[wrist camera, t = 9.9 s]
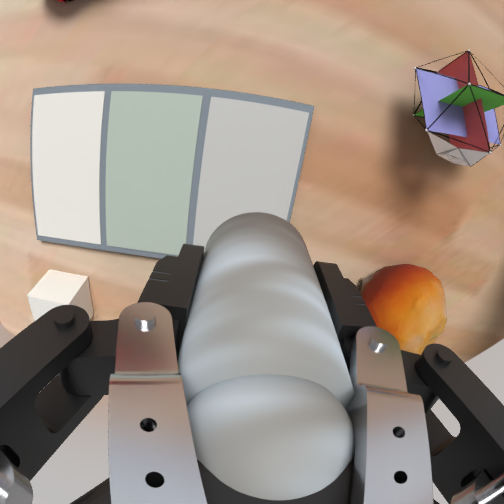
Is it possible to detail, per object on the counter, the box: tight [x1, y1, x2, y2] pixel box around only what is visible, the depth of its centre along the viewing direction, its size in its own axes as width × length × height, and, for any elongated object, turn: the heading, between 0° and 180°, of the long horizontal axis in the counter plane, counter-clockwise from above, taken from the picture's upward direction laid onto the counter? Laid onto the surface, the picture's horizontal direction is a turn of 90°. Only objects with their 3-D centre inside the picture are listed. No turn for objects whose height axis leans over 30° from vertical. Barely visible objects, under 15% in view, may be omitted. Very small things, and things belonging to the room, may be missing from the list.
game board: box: [31, 84, 314, 259], centre depth 19 cm, size 20×12×1 cm, turn 81°
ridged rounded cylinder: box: [177, 212, 355, 500], centre depth 8 cm, size 4×4×10 cm
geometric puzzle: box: [413, 49, 504, 167], centre depth 15 cm, size 7×7×8 cm
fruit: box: [360, 264, 447, 355], centre depth 22 cm, size 8×8×8 cm
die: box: [27, 269, 93, 321], centre depth 22 cm, size 4×4×4 cm
